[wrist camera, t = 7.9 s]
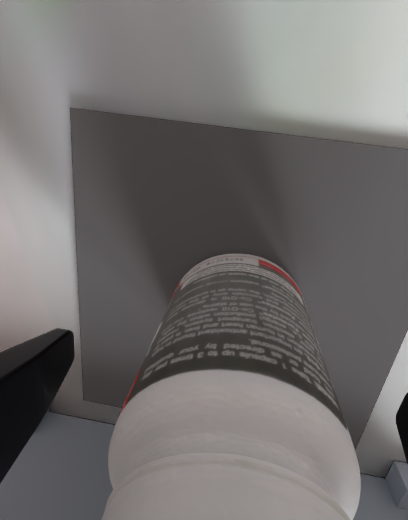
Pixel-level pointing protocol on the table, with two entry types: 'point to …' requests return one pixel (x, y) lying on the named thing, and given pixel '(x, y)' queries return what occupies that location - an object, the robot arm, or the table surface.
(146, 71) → the table surface
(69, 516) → the screen
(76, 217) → the mat
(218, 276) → the pill bottle
